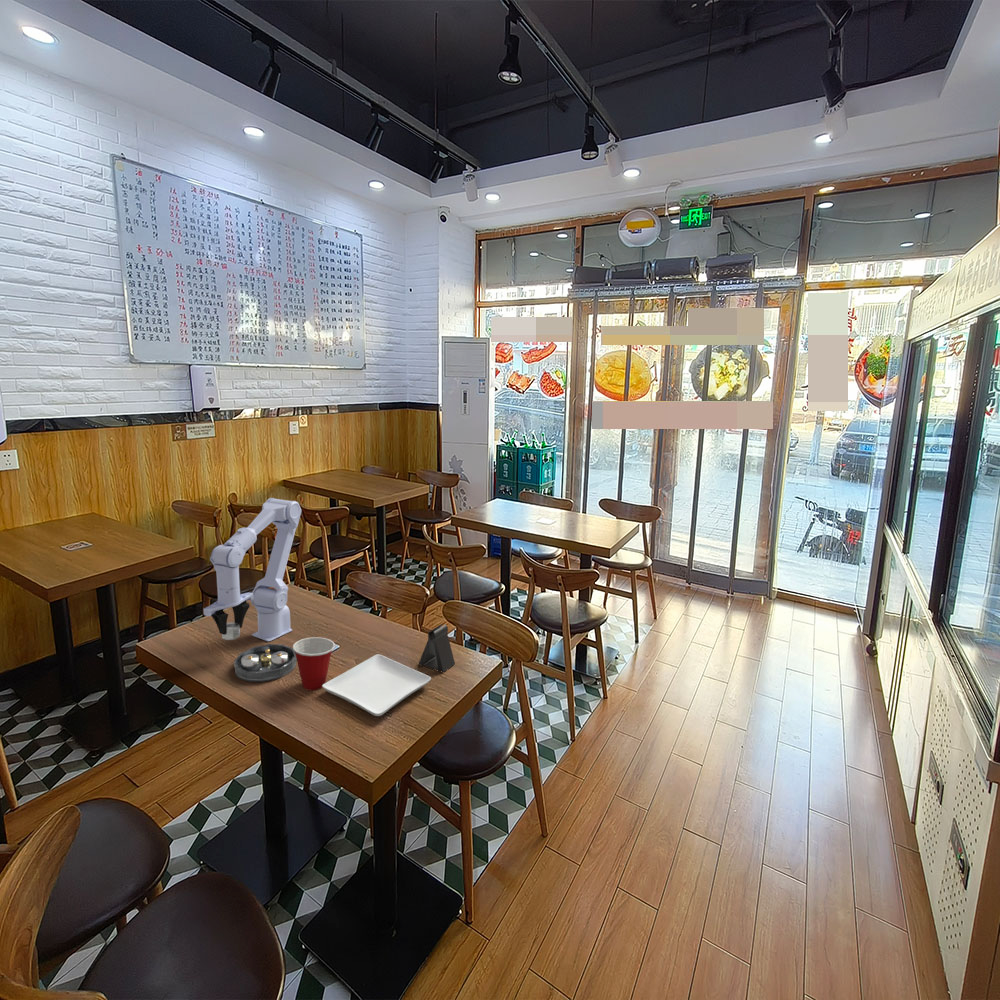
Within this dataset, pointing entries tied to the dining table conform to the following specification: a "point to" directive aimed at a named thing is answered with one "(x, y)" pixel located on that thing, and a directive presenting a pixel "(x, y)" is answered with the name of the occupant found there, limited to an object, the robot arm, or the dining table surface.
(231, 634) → the octagonal tube
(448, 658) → the phone stand
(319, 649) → the plastic cup
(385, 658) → the salad plate
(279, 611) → the robot arm
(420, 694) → the dining table surface
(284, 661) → the carrier
